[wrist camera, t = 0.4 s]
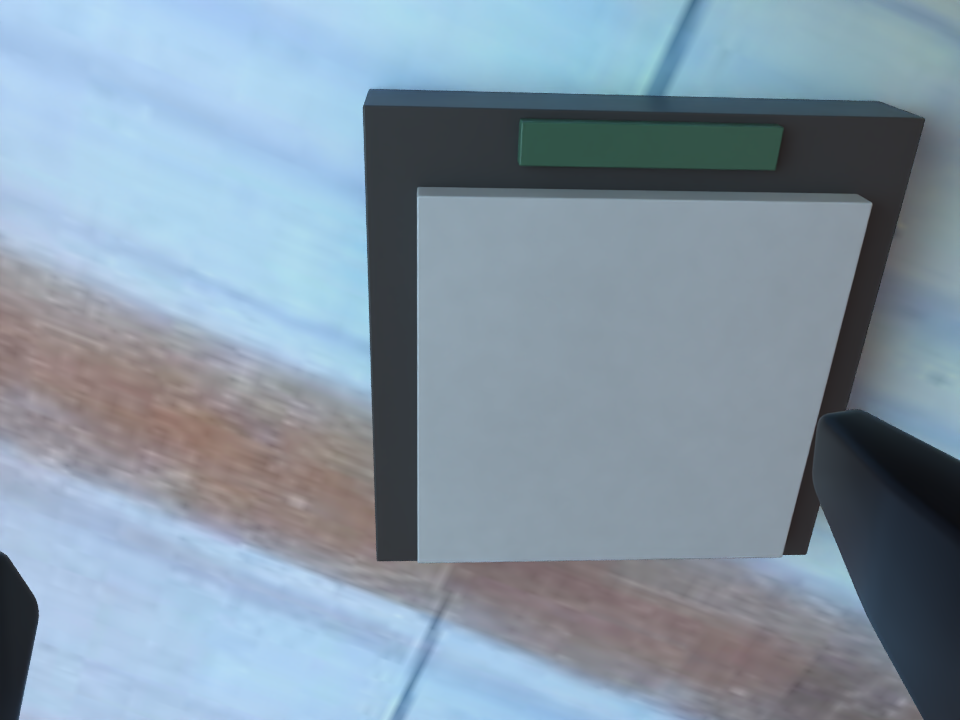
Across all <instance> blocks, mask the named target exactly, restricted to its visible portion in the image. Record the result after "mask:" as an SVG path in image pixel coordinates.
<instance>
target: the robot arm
mask: <svg viewBox="0 0 960 720" xmlns="http://www.w3.org/2000/svg"><path fill="white" fill-rule="evenodd" d="M812 477H813V484H814V488H815V491H816V494H817V497H818V499H819V502H820V504H821V506H822V509H823V511H824V514H825V516H826V519H827V521H828V524H829V526H830V528H831V531H832V533H833V536H834V538H835V541H836V543H837V545H838V548H839V550H840V553H841V555H842V558H843V560H844V562H845V565H846V567H847V570H848V572H849V575H850V577H851V579H852V582H853V584H854V587H855V589H856V592H857V594H858V596H859V599H860V601H861V603H862V605H863V608H864V610H865V612H866V615H867V617H868V618H869V620H870V622H871V624H872V626H873V628H874V630H875V632H876V634H877V636H878V638H879V640H880V641H881V643H882V645H883V647H884V649H885V650H886V652H887V654H888V656H889V658H890V659H891V661H892V663H893V665H894V667H895V668H896V670H897V672H898V674H899V676H900V678H901V679H902V681H903V683H904V685H905V687H906V688H907V690H908V692H909V694H910V696H911V697H912V699H913V701H914V703H915V705H916V707H917V708H918V710H919V712H920V714H921V716H922V717H923V719H924V720H960V460H958V459H956V458H954V457H952V456H950V455H948V454H946V453H944V452H942V451H940V450H938V449H937V448H935V447H933V446H931V445H929V444H927V443H925V442H923V441H921V440H919V439H917V438H915V437H913V436H911V435H910V434H908V433H906V432H904V431H902V430H900V429H898V428H896V427H894V426H892V425H890V424H888V423H886V422H884V421H882V420H881V419H879V418H877V417H875V416H873V415H871V414H869V413H867V412H865V411H862V410H858V409H852V410H846V411H840V412H834V413H828V414H825V415H823V416H822V417H821V418H820V419H819V421H818V424H817V430H816V439H815V449H814V459H813V469H812ZM38 618H39V610H38V604H37V601H36V598H35V597H34V595H33V593H32V592H31V590H30V589H29V587H28V586H27V584H26V583H25V581H24V580H23V578H22V577H21V575H20V574H19V572H18V571H17V569H16V568H15V566H14V565H13V563H12V562H11V560H10V559H9V558H8V556H7V555H5V554H4V553H2V552H0V720H19V715H20V710H21V705H22V700H23V695H24V690H25V685H26V680H27V675H28V670H29V665H30V660H31V655H32V650H33V645H34V640H35V635H36V630H37V625H38Z"/></svg>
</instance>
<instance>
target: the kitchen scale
mask: <svg viewBox="0 0 960 720" xmlns="http://www.w3.org/2000/svg"><path fill="white" fill-rule="evenodd" d="M924 122H925V118H923V117H920V116H918V115H915V114H912V113H909V112H907V111H904V110H901V109H898V108H896V107H893V106H890V105H887V104H885V103H882V102H879V101H841V100H799V99H758V98H717V97H676V96H634V95H593V94H552V93H511V92H469V91H428V90H387V89H369V91H368V94H367V97H366V100H365V102H364V105H363V127H364V160H365V193H366V225H367V258H368V291H369V323H370V356H371V389H372V421H373V454H374V487H375V519H376V552H377V561H418V563H461V562H524V561H587V560H650V559H713V558H776V557H782V555H805V554H806V553H807V550H808V546H809V542H810V539H811V535H812V531H813V528H814V524H815V520H816V517H817V513H818V509H819V506H820V502H819V499H818V497H817V494H816V491H815V488H814V484H813V477H812V469H813V459H814V449H815V439H816V430H817V424H818V421H819V419H820V418H821V417H822V416H823V415H825V414H828V413H834V412H840V411H846V407H847V403H848V400H849V396H850V392H851V389H852V385H853V381H854V378H855V374H856V370H857V367H858V363H859V360H860V356H861V352H862V349H863V345H864V341H865V338H866V334H867V330H868V327H869V323H870V319H871V316H872V312H873V308H874V305H875V301H876V297H877V294H878V290H879V286H880V283H881V279H882V275H883V272H884V268H885V264H886V261H887V257H888V253H889V250H890V246H891V243H892V239H893V235H894V232H895V228H896V224H897V221H898V217H899V213H900V210H901V206H902V202H903V199H904V195H905V191H906V188H907V184H908V180H909V177H910V173H911V169H912V166H913V162H914V158H915V155H916V151H917V147H918V144H919V140H920V136H921V133H922V129H923V126H924Z"/></svg>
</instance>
